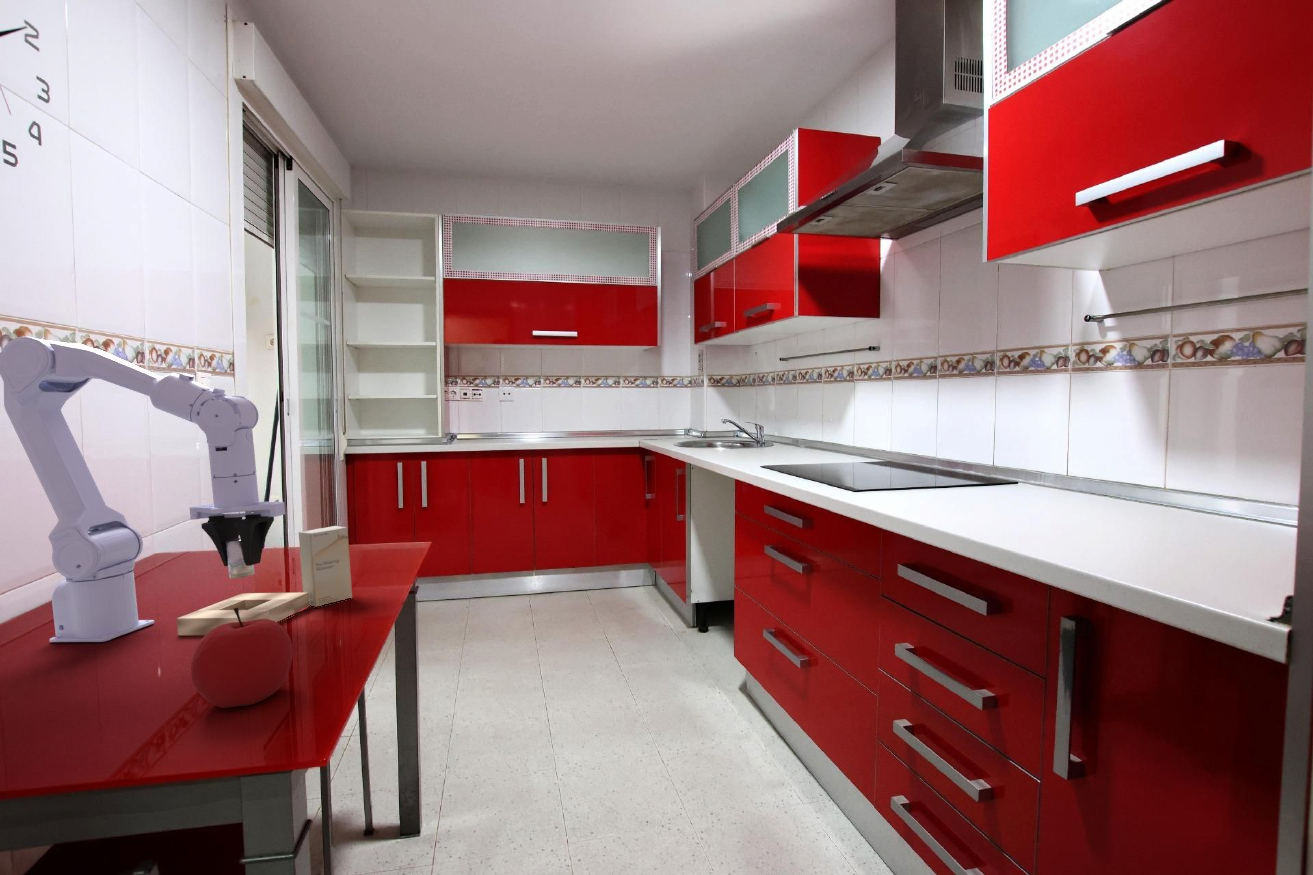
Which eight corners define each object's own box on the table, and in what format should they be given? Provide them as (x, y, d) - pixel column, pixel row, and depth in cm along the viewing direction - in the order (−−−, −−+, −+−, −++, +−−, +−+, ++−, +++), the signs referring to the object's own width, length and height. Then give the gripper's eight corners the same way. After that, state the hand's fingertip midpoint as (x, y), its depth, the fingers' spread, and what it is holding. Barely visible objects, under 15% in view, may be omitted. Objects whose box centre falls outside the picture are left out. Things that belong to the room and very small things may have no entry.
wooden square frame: (178, 635, 91) (176, 618, 91) (243, 608, 103) (242, 593, 103) (251, 634, 90) (250, 617, 90) (309, 607, 101) (308, 592, 101)
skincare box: (315, 609, 101) (309, 533, 100) (302, 605, 103) (296, 531, 103) (354, 598, 106) (348, 526, 105) (341, 594, 108) (335, 524, 108)
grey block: (224, 578, 95) (220, 542, 94) (242, 572, 98) (238, 537, 97) (241, 578, 94) (237, 542, 94) (259, 572, 97) (255, 537, 97)
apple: (178, 727, 63) (169, 629, 62) (214, 689, 72) (206, 603, 71) (282, 709, 65) (274, 615, 65) (304, 675, 74) (297, 591, 74)
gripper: (168, 481, 92) (177, 572, 93) (256, 476, 90) (264, 570, 91) (208, 475, 99) (216, 560, 100) (291, 471, 97) (299, 558, 98)
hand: (242, 564), depth 96 cm, fingers closed on grey block, 3 cm apart
